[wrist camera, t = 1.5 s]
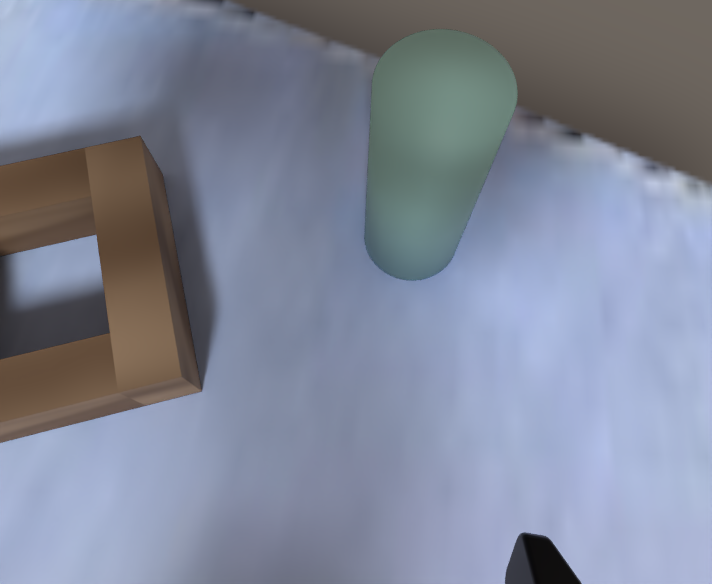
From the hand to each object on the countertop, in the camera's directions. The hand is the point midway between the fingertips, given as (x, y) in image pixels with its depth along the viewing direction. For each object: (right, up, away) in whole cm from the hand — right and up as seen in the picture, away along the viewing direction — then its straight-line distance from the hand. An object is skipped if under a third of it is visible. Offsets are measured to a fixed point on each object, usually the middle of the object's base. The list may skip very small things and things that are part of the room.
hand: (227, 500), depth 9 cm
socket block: (-10, +3, +16) cm, 19 cm away
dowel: (+4, +6, +17) cm, 18 cm away
